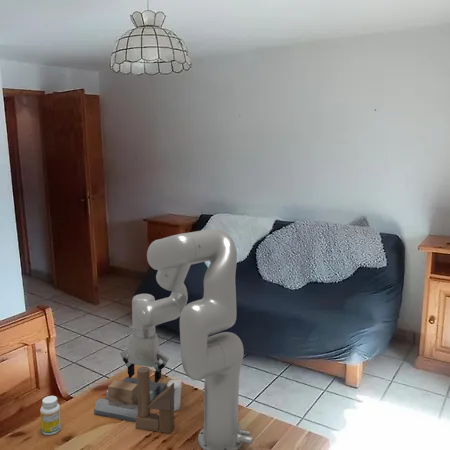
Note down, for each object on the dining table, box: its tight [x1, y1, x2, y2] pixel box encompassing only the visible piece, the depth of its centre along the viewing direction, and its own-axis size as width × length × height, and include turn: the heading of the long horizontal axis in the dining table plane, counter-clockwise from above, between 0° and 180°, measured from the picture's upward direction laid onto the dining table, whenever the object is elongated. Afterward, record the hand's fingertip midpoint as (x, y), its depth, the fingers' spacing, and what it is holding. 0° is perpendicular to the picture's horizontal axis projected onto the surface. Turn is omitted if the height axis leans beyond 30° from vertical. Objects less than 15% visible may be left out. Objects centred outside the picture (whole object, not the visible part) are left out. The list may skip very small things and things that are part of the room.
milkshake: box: [166, 379, 184, 412], centre depth 144 cm, size 5×5×10 cm
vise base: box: [93, 376, 168, 423], centre depth 148 cm, size 15×21×4 cm
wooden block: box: [135, 366, 175, 434], centre depth 133 cm, size 4×11×18 cm, turn 78°
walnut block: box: [107, 379, 138, 405], centre depth 142 cm, size 8×4×7 cm, turn 74°
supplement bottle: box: [39, 395, 62, 436], centre depth 132 cm, size 5×5×10 cm
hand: (144, 378), depth 157 cm, fingers open, 9 cm apart
